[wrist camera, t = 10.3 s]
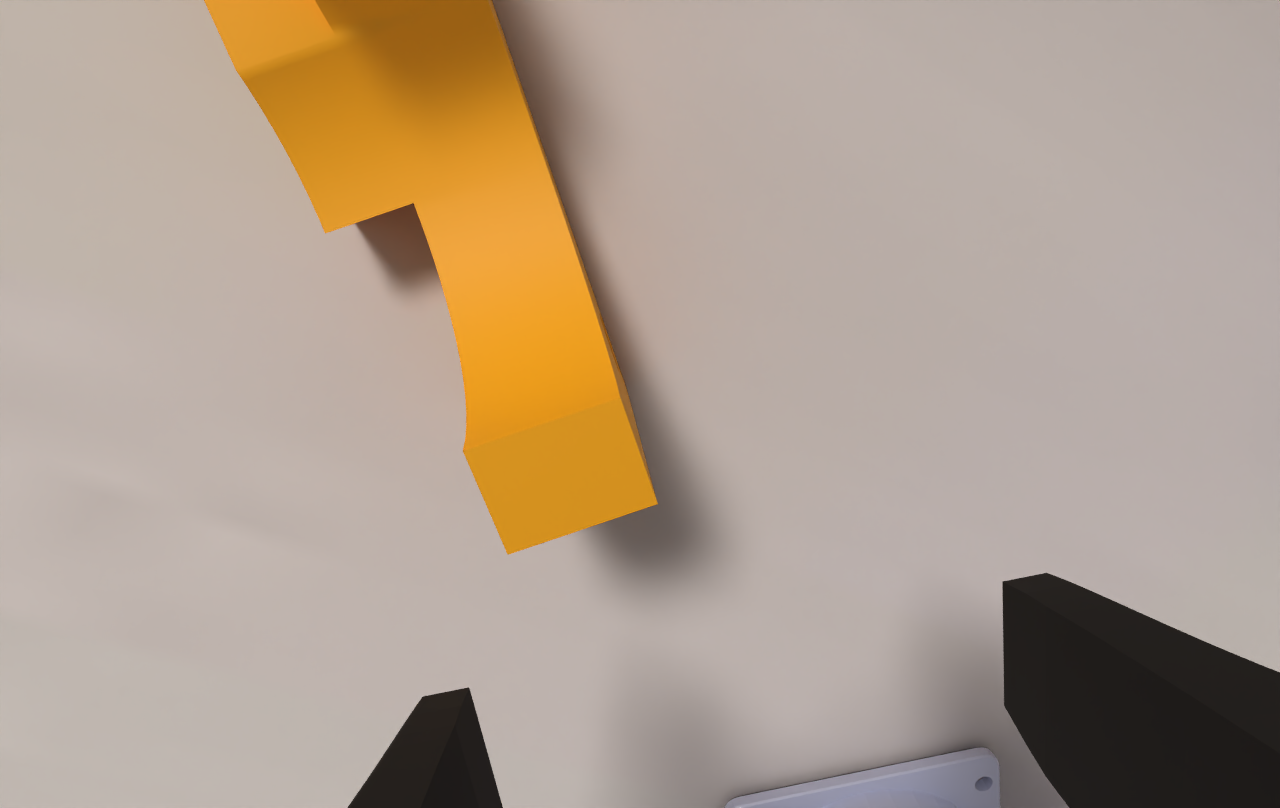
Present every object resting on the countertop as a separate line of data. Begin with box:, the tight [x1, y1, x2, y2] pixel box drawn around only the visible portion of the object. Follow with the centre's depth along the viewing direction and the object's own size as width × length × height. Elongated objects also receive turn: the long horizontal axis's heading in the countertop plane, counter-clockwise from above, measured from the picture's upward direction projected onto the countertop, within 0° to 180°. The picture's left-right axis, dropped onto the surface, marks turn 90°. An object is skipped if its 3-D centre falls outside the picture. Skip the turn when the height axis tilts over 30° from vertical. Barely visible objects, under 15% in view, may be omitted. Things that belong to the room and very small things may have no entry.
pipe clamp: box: [204, 0, 658, 554], centre depth 14 cm, size 12×4×6 cm, turn 18°
